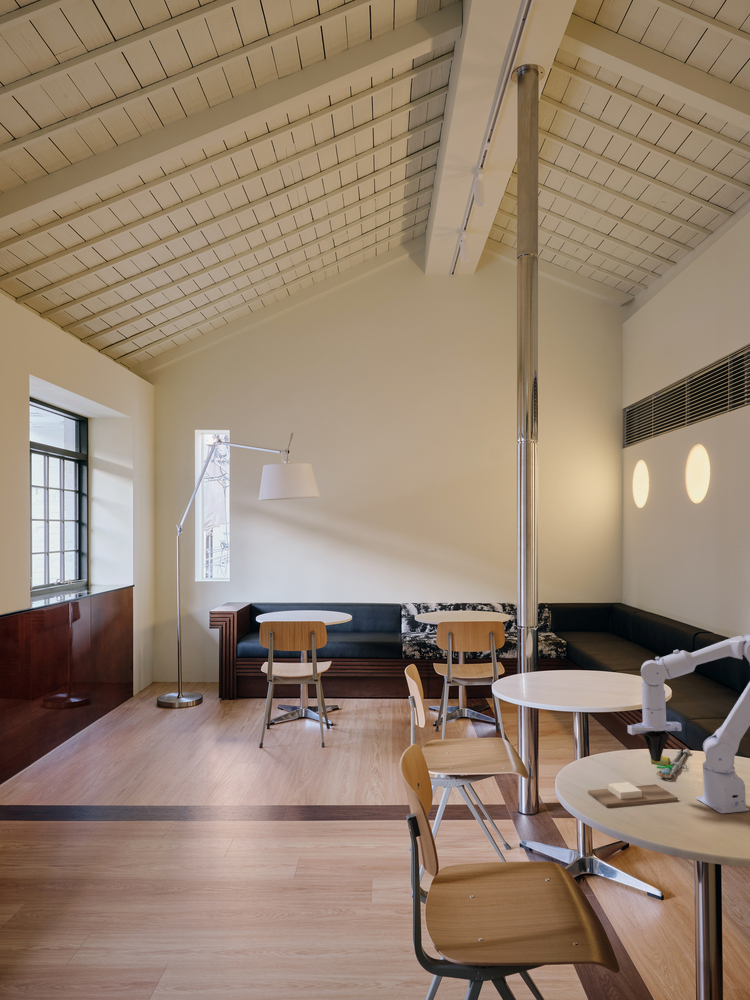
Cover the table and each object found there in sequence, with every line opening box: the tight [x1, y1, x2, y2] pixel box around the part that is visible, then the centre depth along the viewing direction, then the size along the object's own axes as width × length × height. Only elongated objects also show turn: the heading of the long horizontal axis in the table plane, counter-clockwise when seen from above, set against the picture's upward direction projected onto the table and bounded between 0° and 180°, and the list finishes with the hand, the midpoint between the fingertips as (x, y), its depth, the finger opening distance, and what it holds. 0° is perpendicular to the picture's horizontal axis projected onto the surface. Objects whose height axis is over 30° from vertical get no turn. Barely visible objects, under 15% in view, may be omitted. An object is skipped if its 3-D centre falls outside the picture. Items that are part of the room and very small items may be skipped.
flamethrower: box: [650, 748, 691, 779], centre depth 194 cm, size 29×3×10 cm
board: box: [587, 784, 679, 808], centre depth 170 cm, size 9×20×1 cm, turn 101°
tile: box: [607, 781, 642, 799], centre depth 171 cm, size 6×2×6 cm
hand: (655, 760), depth 172 cm, fingers closed
